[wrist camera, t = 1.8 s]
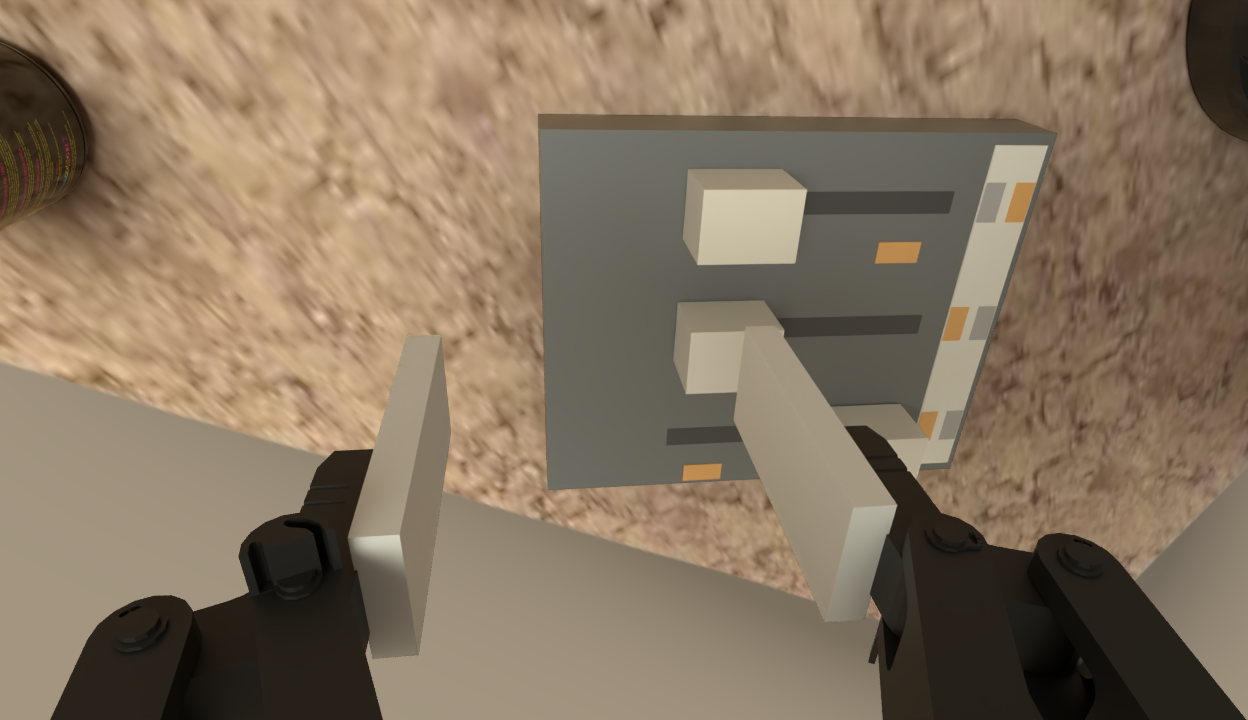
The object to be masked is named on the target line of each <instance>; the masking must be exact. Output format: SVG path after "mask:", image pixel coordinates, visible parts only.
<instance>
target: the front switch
mask: <svg viewBox="0 0 1248 720" xmlns="http://www.w3.org/2000/svg"><path fill="white" fill-rule="evenodd" d="M806 194H807V189H806V188H805V187H804V186H802V185H801V184H800V183H799V182H798V181H796V180H795V179H794V178H793V177H792V176H790V175H789V174H788V173H787V172H786V171H784V170H783V169H688V176H687V189H686V202H685V215H684V228H683V240H684V242H685V244H686V245H687V247H688V249H689V251H690V253H691V254H692V256H693V258H694V260H695V262H696V263H697V265H730V264H793V263H795V262H796V256H797V250H798V243H799V237H800V231H801V225H802V218H803V212H804V206H805V200H806Z"/></svg>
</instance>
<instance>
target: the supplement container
mask: <svg viewBox="0 0 1248 720" xmlns="http://www.w3.org/2000/svg"><path fill="white" fill-rule="evenodd" d="M87 152H88V144H87V136H86V131H85V127H84V124H83V121H82V118H81V116H80V114H79V112H78V110H77V108H76V106H75V104H74V102H73V101H72V99H71V98H70V96H69V95H68V93H67V92H66V91H65V89H64V88H63V87H62V86H61V85H60V83H59V82H58V81H57V80H56V79H55V78H54V77H53V76H52V75H51V74H50V73H49V72H48V71H47V70H45V69H44V68H43V67H42V66H41V65H39V64H38V63H37V62H35V61H34V60H33V59H31V58H30V57H28V56H27V55H25V54H23V53H22V52H20V51H18V50H16V49H14V48H13V47H11V46H8V45H6V44H4V43H2V42H0V232H1V231H3V230H5V229H7V228H9V227H10V226H12V225H14V224H16V223H18V222H20V221H22V220H23V219H25V218H27V217H29V216H31V215H33V214H34V213H36V212H38V211H40V210H42V209H44V208H46V207H47V206H49V205H51V204H53V203H55V202H57V201H58V200H60V199H62V198H63V197H65V196H66V195H67V194H68V193H70V192H71V191H72V190H73V189H74V187H75V186H76V185H77V183H78V182H79V181H80V179H81V177H82V175H83V172H84V169H85V165H86V161H87Z"/></svg>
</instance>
